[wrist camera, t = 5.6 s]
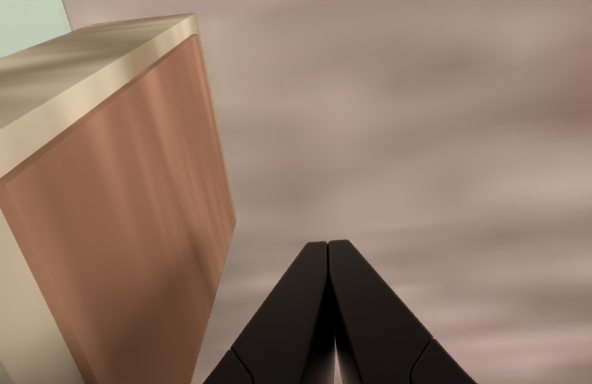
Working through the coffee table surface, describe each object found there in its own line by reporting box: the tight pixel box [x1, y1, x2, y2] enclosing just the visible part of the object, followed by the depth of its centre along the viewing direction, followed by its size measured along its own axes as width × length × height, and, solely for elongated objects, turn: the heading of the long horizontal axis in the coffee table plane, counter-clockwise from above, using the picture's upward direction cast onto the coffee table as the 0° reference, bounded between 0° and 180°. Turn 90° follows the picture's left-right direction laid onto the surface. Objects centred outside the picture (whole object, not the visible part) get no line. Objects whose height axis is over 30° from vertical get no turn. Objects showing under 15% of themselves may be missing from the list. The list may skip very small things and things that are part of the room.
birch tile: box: [0, 13, 237, 384], centre depth 12 cm, size 4×8×12 cm, turn 6°
